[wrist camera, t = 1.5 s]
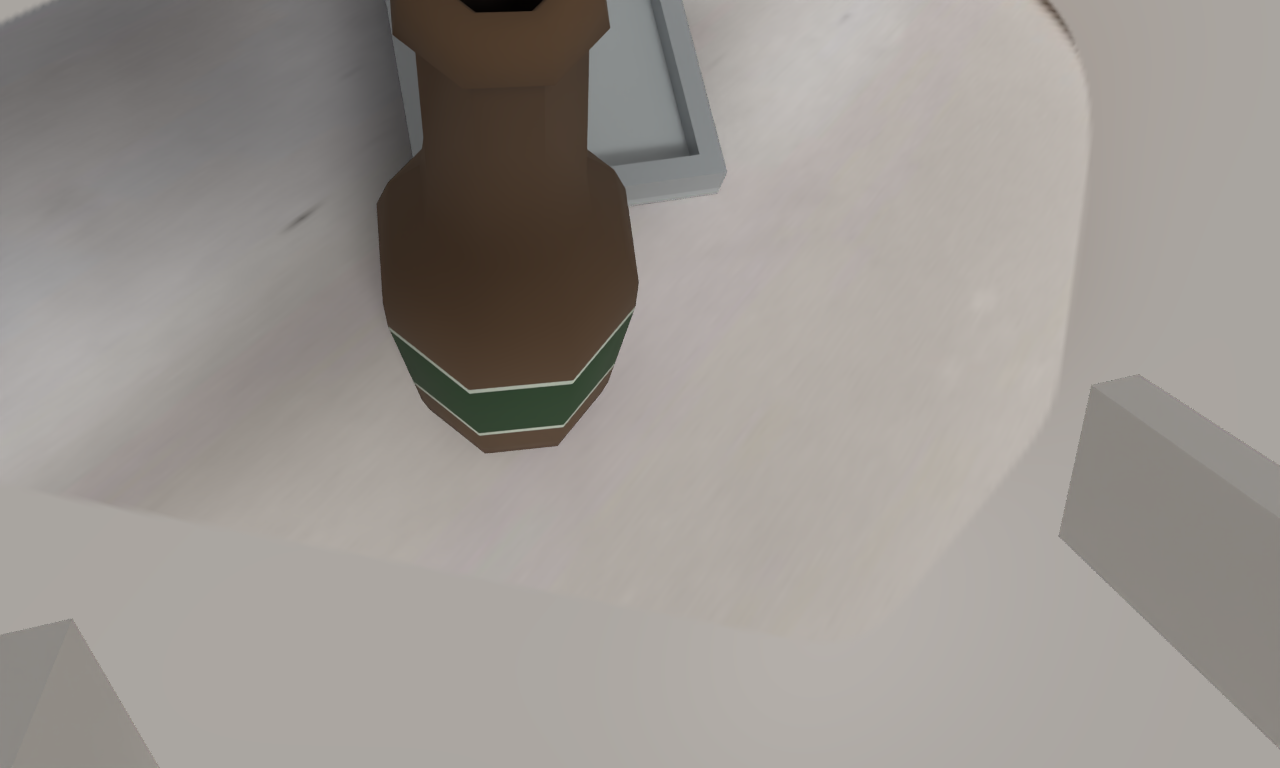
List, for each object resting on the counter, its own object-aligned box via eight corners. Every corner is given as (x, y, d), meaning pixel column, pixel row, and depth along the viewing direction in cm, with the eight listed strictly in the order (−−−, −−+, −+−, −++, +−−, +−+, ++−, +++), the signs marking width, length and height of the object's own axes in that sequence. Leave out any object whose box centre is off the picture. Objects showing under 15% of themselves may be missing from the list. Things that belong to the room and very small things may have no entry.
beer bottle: (391, 431, 35) (143, 80, 12) (452, 259, 37) (339, -313, 14) (577, 484, 36) (677, 242, 13) (627, 311, 38) (789, -164, 15)
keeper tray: (427, 235, 38) (422, 214, 36) (383, -22, 40) (376, -54, 39) (717, 193, 40) (727, 172, 38) (654, -47, 43) (661, -79, 41)
